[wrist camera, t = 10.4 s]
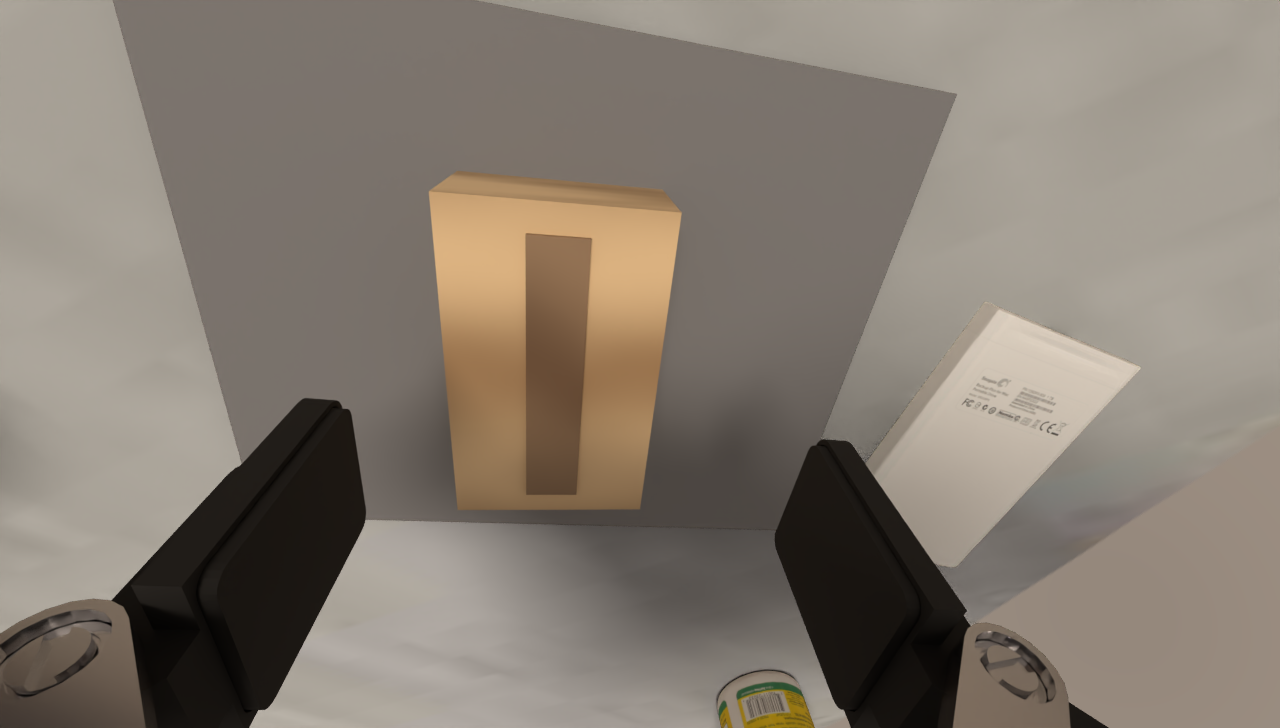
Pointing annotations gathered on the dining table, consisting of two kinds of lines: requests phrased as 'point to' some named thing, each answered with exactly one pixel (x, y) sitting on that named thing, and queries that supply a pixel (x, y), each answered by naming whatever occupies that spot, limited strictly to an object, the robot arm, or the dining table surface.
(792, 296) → the rubber mat
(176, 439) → the dining table surface
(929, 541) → the external hard drive
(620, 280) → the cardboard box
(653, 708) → the dining table surface
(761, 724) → the supplement bottle
